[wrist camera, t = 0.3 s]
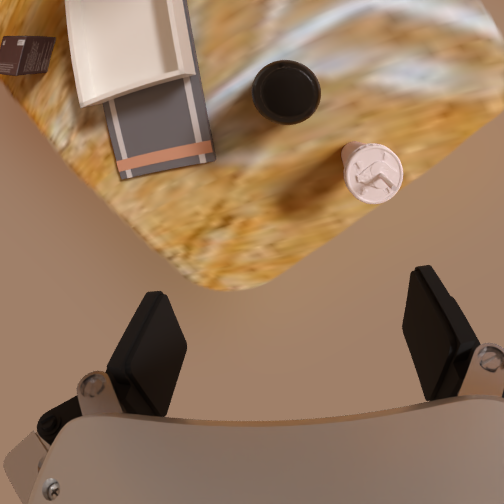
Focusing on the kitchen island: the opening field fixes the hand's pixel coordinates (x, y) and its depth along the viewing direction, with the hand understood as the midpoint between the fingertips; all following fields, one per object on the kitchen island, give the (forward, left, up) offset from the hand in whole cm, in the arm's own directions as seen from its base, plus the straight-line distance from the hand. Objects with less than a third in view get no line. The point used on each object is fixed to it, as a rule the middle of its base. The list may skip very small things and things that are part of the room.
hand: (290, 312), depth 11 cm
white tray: (-21, -16, -29) cm, 40 cm away
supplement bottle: (-7, +1, -31) cm, 32 cm away
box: (-24, -34, -31) cm, 52 cm away
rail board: (-16, -16, -31) cm, 38 cm away
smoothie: (+2, +9, -31) cm, 32 cm away
